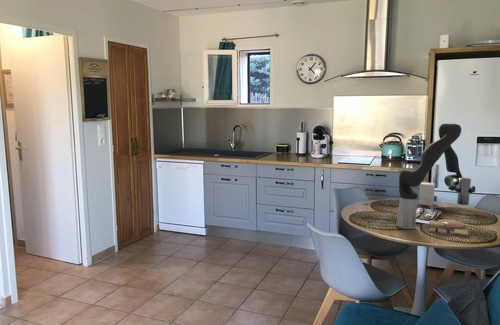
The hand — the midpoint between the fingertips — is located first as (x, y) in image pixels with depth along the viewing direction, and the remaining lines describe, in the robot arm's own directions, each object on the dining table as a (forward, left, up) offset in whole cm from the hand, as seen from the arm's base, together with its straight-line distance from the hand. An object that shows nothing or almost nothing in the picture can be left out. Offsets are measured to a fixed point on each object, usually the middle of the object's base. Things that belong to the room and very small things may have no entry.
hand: (465, 190), depth 221 cm
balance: (-7, +2, -24) cm, 25 cm away
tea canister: (+1, +2, -8) cm, 8 cm away
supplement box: (+24, +65, -24) cm, 73 cm away
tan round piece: (+6, +16, -24) cm, 29 cm away
